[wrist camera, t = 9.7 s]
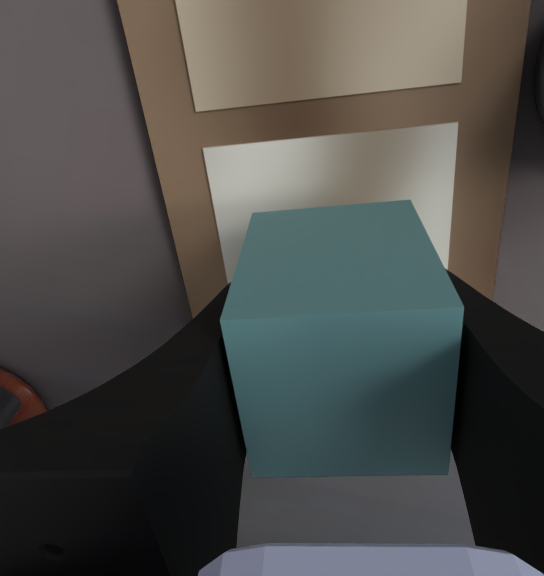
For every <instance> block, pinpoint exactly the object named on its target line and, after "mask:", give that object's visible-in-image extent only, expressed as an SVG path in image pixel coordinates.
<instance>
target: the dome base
mask: <svg viewBox="0 0 544 576" xmlns="http://www.w3.org/2000/svg"><path fill="white" fill-rule="evenodd" d="M534 96H535V101H536V106H537V110H538V112H539V115H540V118H541V120H542V122H543V123H544V40H543V42H542V45H541V48H540V51H539V54H538V57H537V62H536V67H535V75H534Z"/></svg>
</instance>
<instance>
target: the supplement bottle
mask: <svg viewBox="0 0 544 576" xmlns="http://www.w3.org/2000/svg"><path fill="white" fill-rule="evenodd" d="M44 412H47V409H46V407H45V405H44V403H43V402H42V400H41V399H40V398H39V396H38V395H37V394H36V393H35V392H34V390H32V388H31V387H30V386H29V385H27V384H26V383H25V382H24V381H22V380H21V379H20V378H18V377H17V376H15V375H14V374H12V373H10V372H8V371H6V370H4V369H2V368H0V429H3V428H6V427H8V426H11V425H14V424H16V423H19V422H21V421H24V420H26V419H29V418H32V417H34V416H37V415H39V414H42V413H44Z"/></svg>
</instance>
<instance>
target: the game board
mask: <svg viewBox="0 0 544 576" xmlns="http://www.w3.org/2000/svg"><path fill="white" fill-rule="evenodd" d="M117 3H118V7H119V11H120V15H121V19H122V24H123V28H124V32H125V36H126V40H127V45H128V49H129V53H130V57H131V61H132V66H133V70H134V74H135V78H136V82H137V87H138V91H139V95H140V99H141V104H142V108H143V112H144V116H145V120H146V125H147V129H148V133H149V137H150V141H151V146H152V150H153V154H154V158H155V162H156V167H157V171H158V175H159V179H160V183H161V188H162V192H163V196H164V200H165V204H166V209H167V213H168V217H169V221H170V225H171V230H172V234H173V238H174V242H175V246H176V251H177V255H178V259H179V263H180V267H181V272H182V276H183V280H184V284H185V289H186V293H187V297H188V301H189V305H190V310H191V314H192V318H193V319H194V318H195V317H196V316H197V315H198V314H199V313H200V312H201V311H202V310H203V309H204V308H205V307H206V306H207V305H208V304H209V303H210V302H211V301H212V300H213V299H214V298H215V297H216V296H217V295H218V294H219V293H220V292H221V290H222V289H223V288H224V287H225V286H227V285H228V284H229V283H230V282H232V279H233V275H234V272H235V269H236V265H237V262H238V259H239V255H240V252H241V249H242V246H243V242H244V239H245V236H246V232H247V229H248V226H249V222H250V219H251V216H252V213H255V212H267V211H279V210H291V209H303V208H315V207H327V206H339V205H351V204H363V203H375V202H387V201H398V200H411V202H412V204H413V206H414V208H415V210H416V212H417V214H418V216H419V218H420V220H421V222H422V224H423V226H424V228H425V230H426V232H427V234H428V236H429V238H430V240H431V242H432V244H433V246H434V248H435V250H436V252H437V254H438V256H439V258H440V260H441V262H442V264H443V266H444V268H445V269H447V270H449V271H450V272H452V273H453V274H455V275H456V276H457V277H459V278H460V279H461V280H463V281H464V282H466V283H467V284H468V285H470V286H471V287H473V288H474V289H475V290H477V291H478V292H480V293H481V294H483V295H484V296H485V297H487V298H488V299H490V300H491V301H492V300H493V292H494V285H495V277H496V269H497V262H498V254H499V246H500V238H501V231H502V223H503V215H504V208H505V200H506V192H507V185H508V177H509V169H510V162H511V154H512V146H513V138H514V131H515V123H516V115H517V108H518V100H519V92H520V85H521V77H522V69H523V62H524V54H525V46H526V38H527V31H528V23H529V15H530V8H531V0H117Z"/></svg>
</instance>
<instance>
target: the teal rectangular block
mask: <svg viewBox="0 0 544 576" xmlns="http://www.w3.org/2000/svg"><path fill="white" fill-rule="evenodd" d="M463 314H464V305H463V303H462V301H461V300H460V298H459V296H458V294H457V292H456V290H455V288H454V286H453V284H452V282H451V280H450V278H449V276H448V274H447V272H446V270H445V268H444V266H443V264H442V262H441V260H440V258H439V256H438V254H437V252H436V250H435V248H434V246H433V244H432V242H431V240H430V238H429V236H428V234H427V232H426V230H425V228H424V226H423V224H422V222H421V220H420V218H419V216H418V214H417V212H416V210H415V208H414V206H413V204H412V202H411V200H398V201H387V202H375V203H363V204H351V205H339V206H327V207H315V208H303V209H291V210H279V211H267V212H255V213H252V216H251V219H250V222H249V226H248V229H247V232H246V236H245V239H244V242H243V246H242V249H241V252H240V255H239V259H238V262H237V265H236V269H235V272H234V275H233V279H232V282H231V285H230V289H229V292H228V295H227V298H226V302H225V305H224V308H223V312H222V315H221V318H220V324H221V329H222V334H223V339H224V344H225V348H226V353H227V358H228V363H229V368H230V373H231V378H232V382H233V387H234V392H235V397H236V402H237V407H238V412H239V417H240V421H241V426H242V431H243V436H244V441H245V446H246V451H247V455H248V460H249V465H250V470H251V475H252V478H260V477H330V476H399V475H448V472H449V461H450V451H451V440H452V430H453V419H454V409H455V398H456V388H457V377H458V367H459V356H460V346H461V335H462V325H463Z"/></svg>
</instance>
